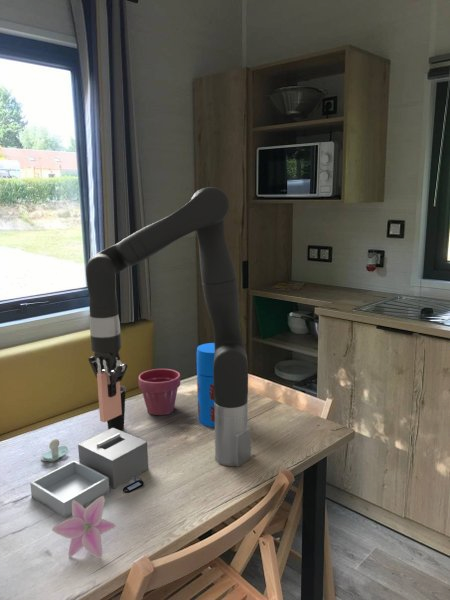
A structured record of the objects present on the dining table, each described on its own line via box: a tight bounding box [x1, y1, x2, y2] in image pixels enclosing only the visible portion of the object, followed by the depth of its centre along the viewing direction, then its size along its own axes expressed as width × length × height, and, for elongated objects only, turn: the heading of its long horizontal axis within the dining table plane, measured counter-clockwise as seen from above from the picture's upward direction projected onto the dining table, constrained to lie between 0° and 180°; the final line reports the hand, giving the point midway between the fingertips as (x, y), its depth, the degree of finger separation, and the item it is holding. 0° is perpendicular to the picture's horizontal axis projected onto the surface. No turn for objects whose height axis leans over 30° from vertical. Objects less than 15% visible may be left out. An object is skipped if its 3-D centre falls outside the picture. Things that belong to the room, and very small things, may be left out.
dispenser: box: [77, 428, 149, 490], centre depth 135 cm, size 14×12×9 cm
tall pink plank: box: [96, 371, 122, 423], centre depth 131 cm, size 2×6×13 cm, turn 142°
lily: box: [51, 495, 117, 559], centre depth 106 cm, size 12×12×10 cm
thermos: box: [196, 342, 215, 428], centre depth 162 cm, size 11×11×25 cm
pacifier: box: [40, 438, 68, 462], centre depth 142 cm, size 7×6×6 cm
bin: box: [29, 459, 110, 519], centre depth 124 cm, size 14×13×4 cm
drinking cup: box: [106, 384, 127, 432], centre depth 156 cm, size 8×8×20 cm
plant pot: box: [138, 368, 181, 416], centre depth 171 cm, size 14×14×13 cm
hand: (109, 395), depth 131 cm, fingers closed on tall pink plank, 1 cm apart
